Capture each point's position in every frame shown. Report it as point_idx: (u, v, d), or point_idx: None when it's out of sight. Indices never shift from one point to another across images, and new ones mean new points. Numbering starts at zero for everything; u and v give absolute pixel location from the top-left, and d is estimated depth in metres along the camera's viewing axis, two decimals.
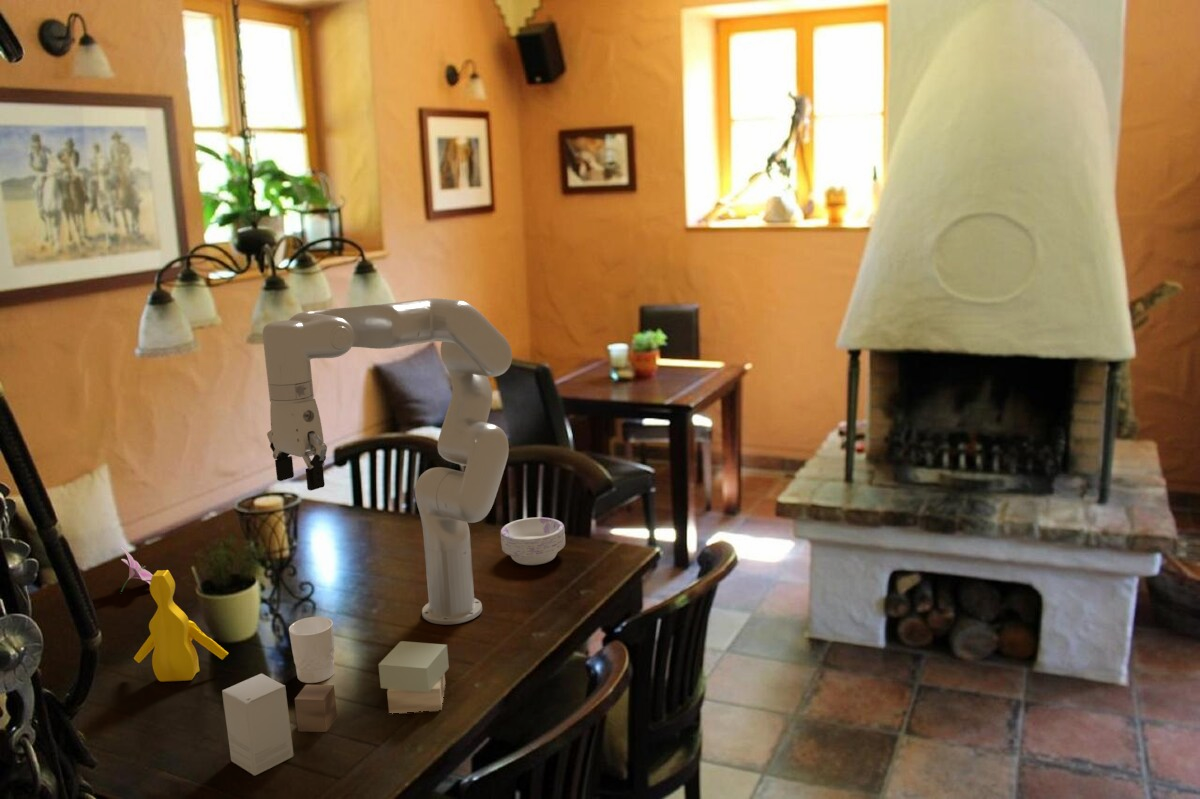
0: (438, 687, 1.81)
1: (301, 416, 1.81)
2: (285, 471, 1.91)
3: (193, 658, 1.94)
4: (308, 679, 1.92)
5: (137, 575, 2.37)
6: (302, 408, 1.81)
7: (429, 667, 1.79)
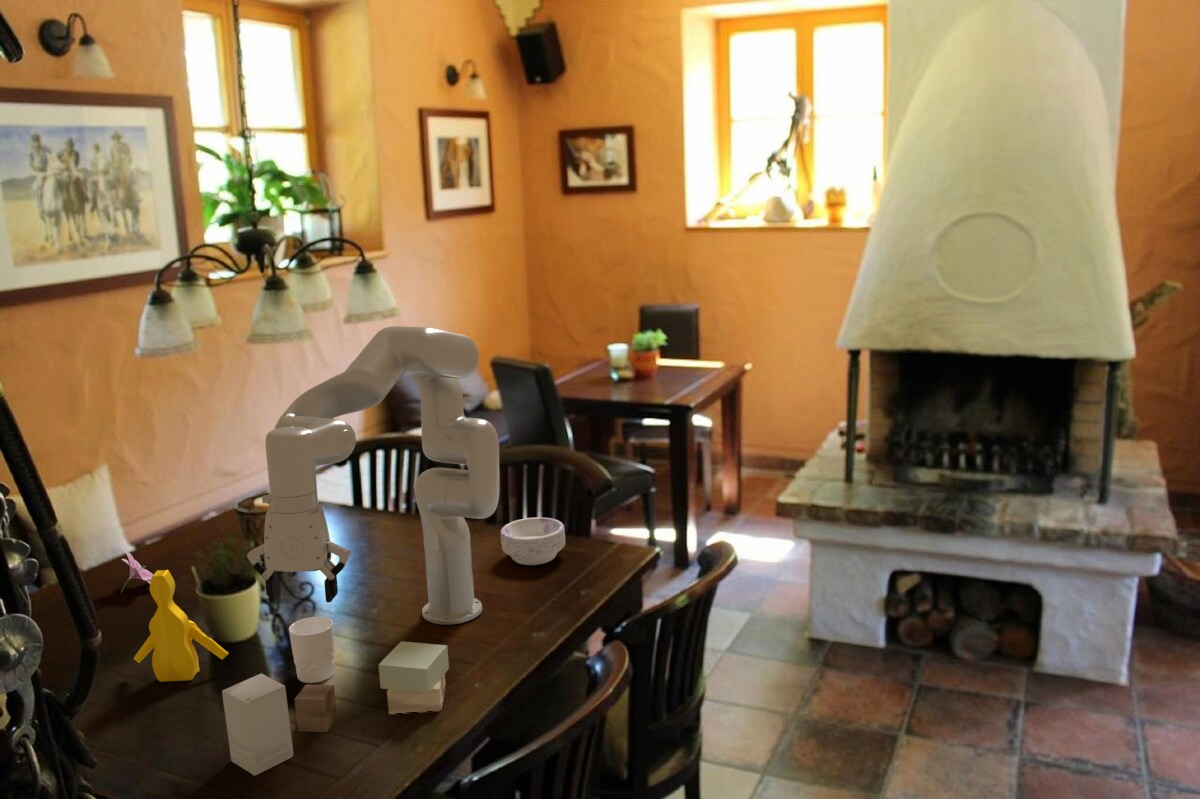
0: (438, 687, 1.81)
1: None
2: None
3: (193, 658, 1.94)
4: (308, 679, 1.92)
5: (137, 575, 2.37)
6: None
7: (429, 667, 1.79)
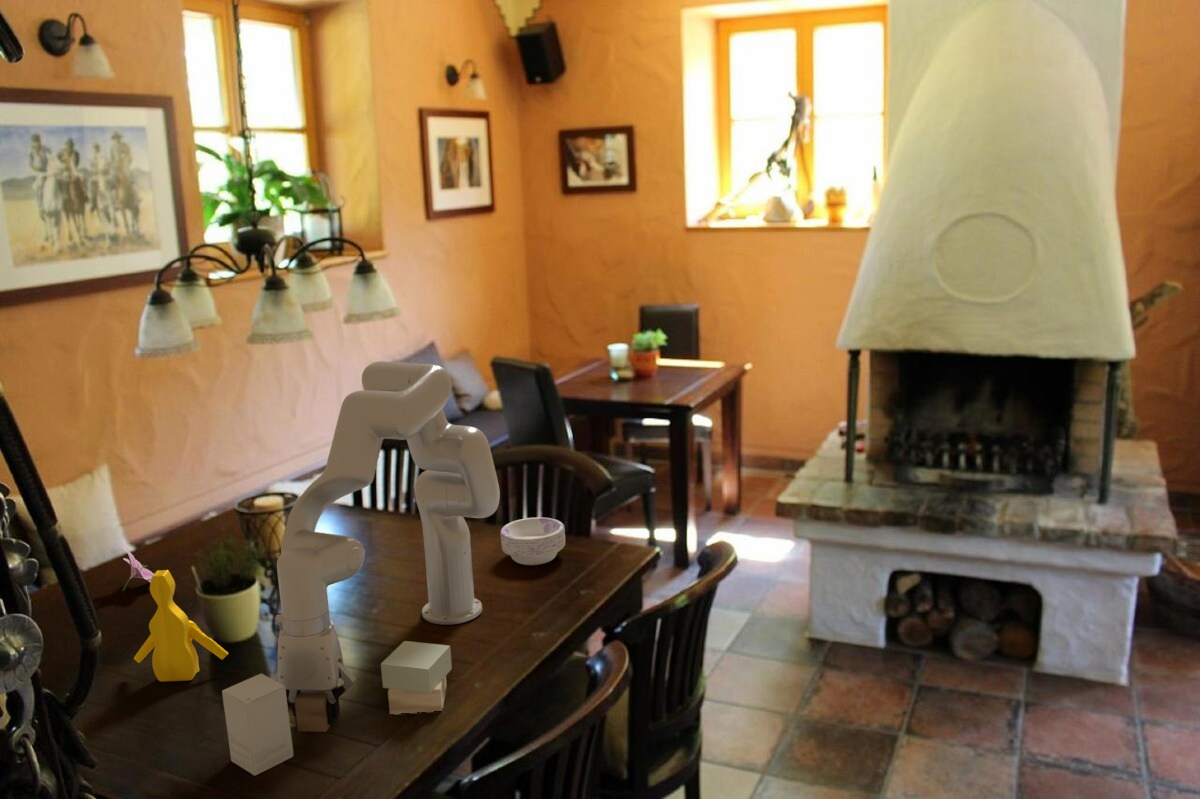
0: (439, 688, 1.80)
1: None
2: None
3: (193, 658, 1.94)
4: None
5: (139, 574, 2.37)
6: None
7: (431, 668, 1.79)
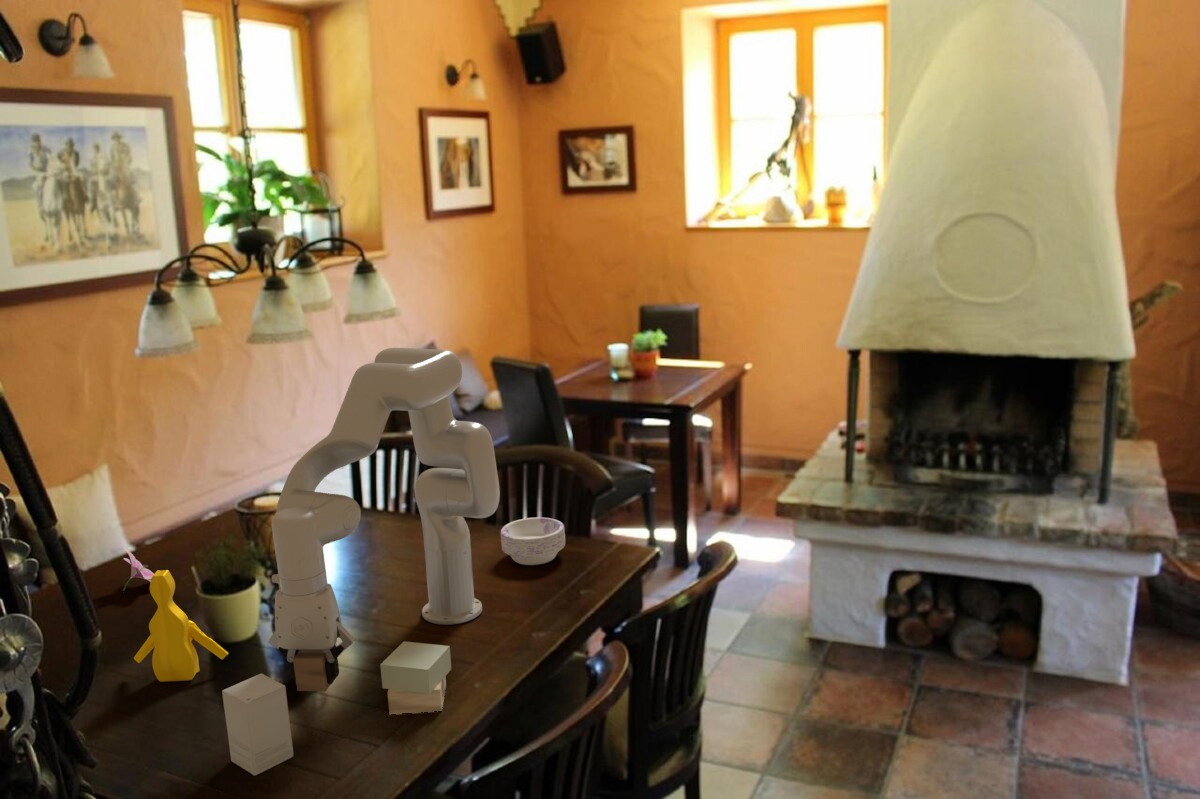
0: (439, 688, 1.80)
1: None
2: None
3: (193, 658, 1.94)
4: None
5: (139, 574, 2.37)
6: None
7: (431, 668, 1.79)
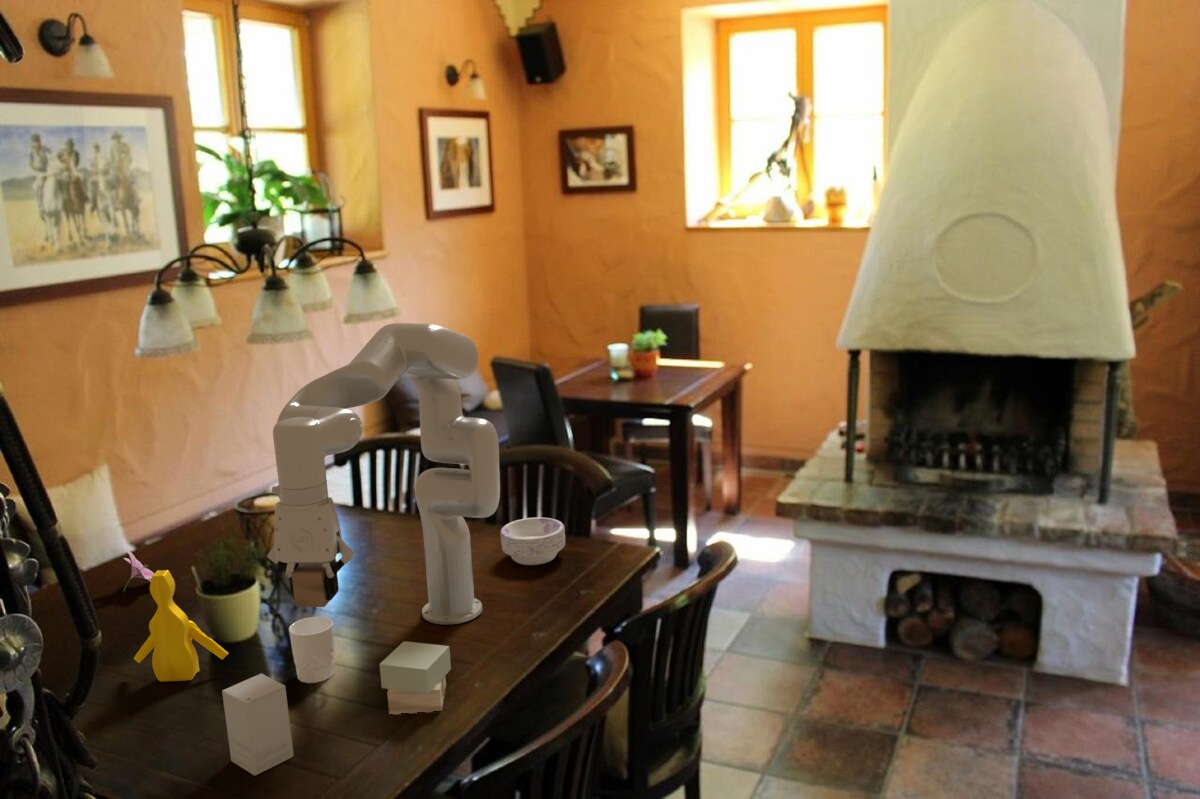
0: (438, 688, 1.80)
1: None
2: None
3: (193, 658, 1.94)
4: (308, 679, 1.92)
5: (140, 574, 2.38)
6: None
7: (430, 668, 1.79)
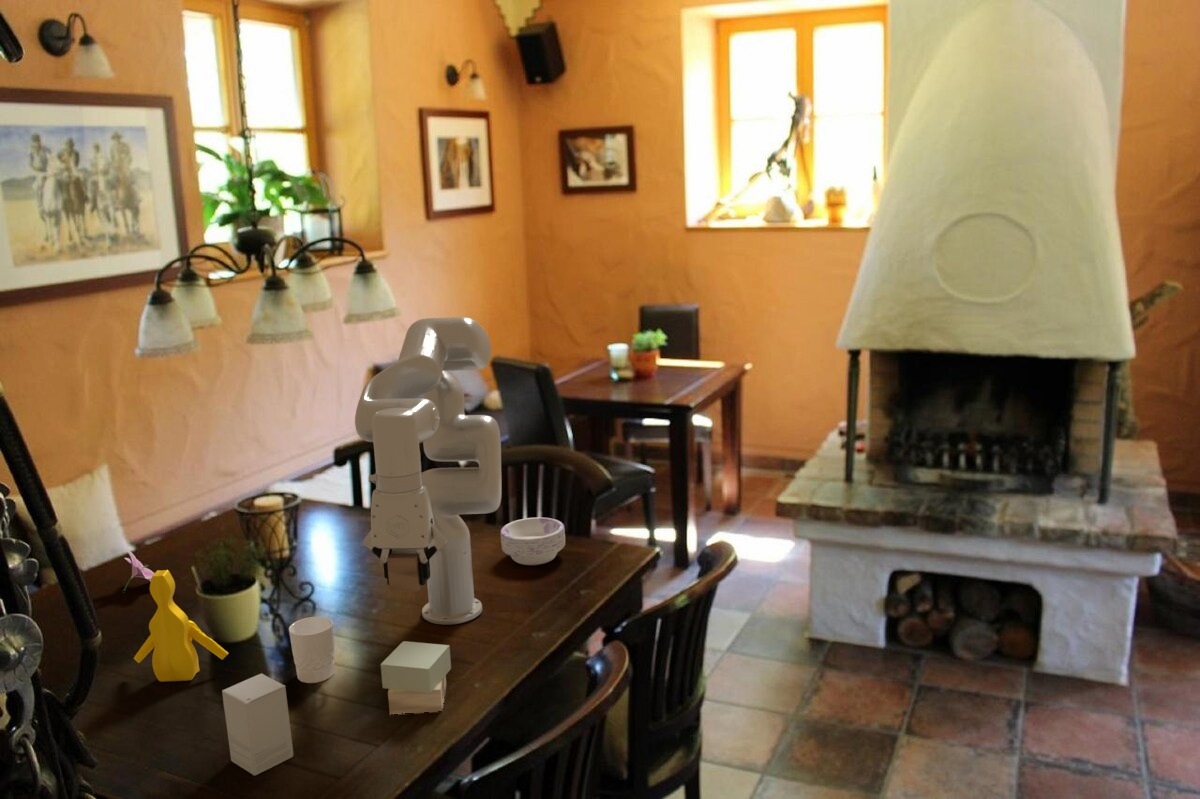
0: (439, 688, 1.80)
1: None
2: None
3: (193, 658, 1.94)
4: (308, 679, 1.92)
5: (140, 574, 2.38)
6: None
7: (432, 667, 1.79)
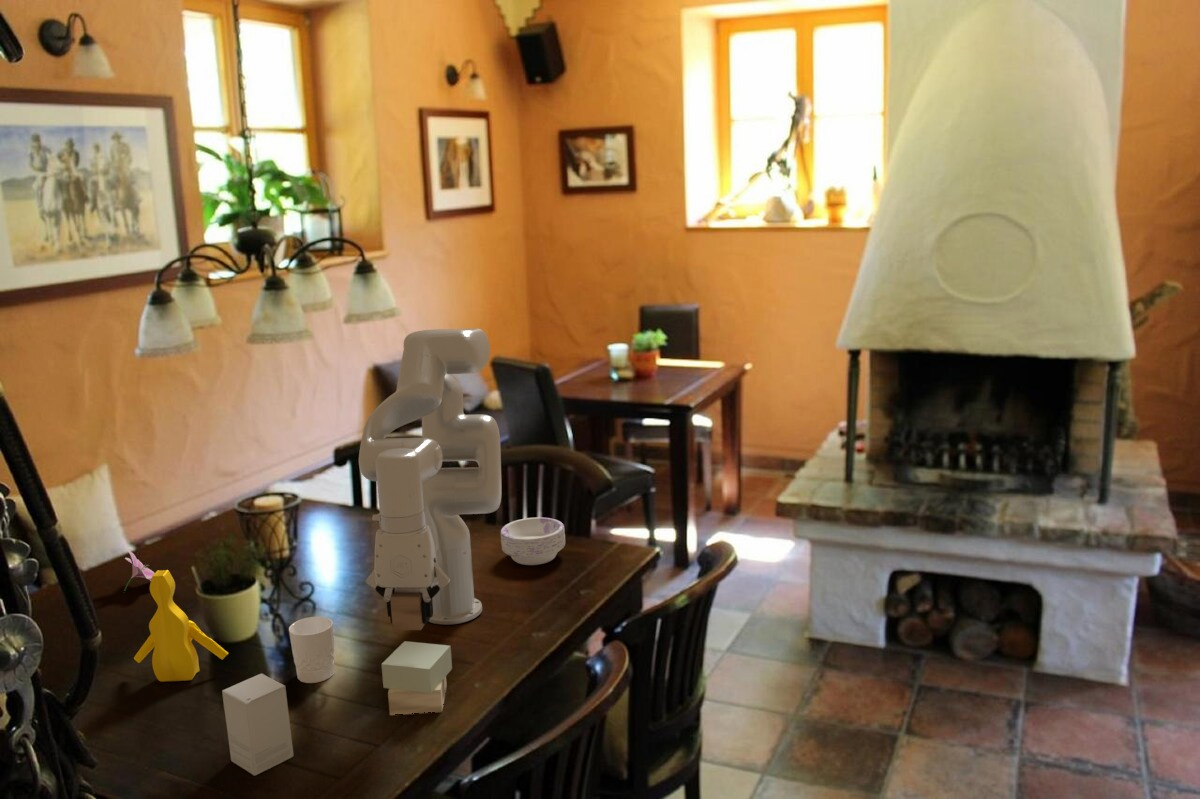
0: (439, 688, 1.80)
1: None
2: None
3: (193, 658, 1.94)
4: (308, 679, 1.92)
5: (140, 574, 2.38)
6: None
7: (432, 667, 1.79)
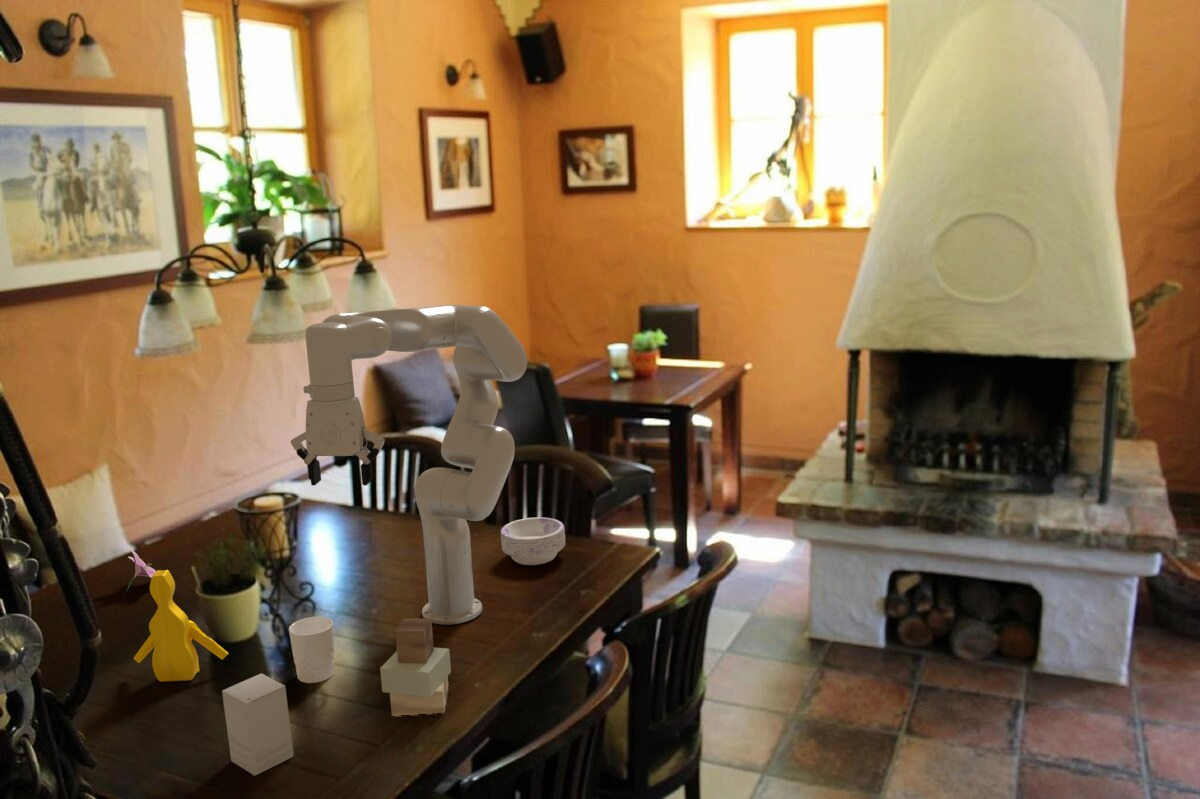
0: (441, 690, 1.80)
1: None
2: None
3: (193, 658, 1.94)
4: (308, 679, 1.92)
5: (143, 572, 2.38)
6: None
7: (432, 671, 1.78)
